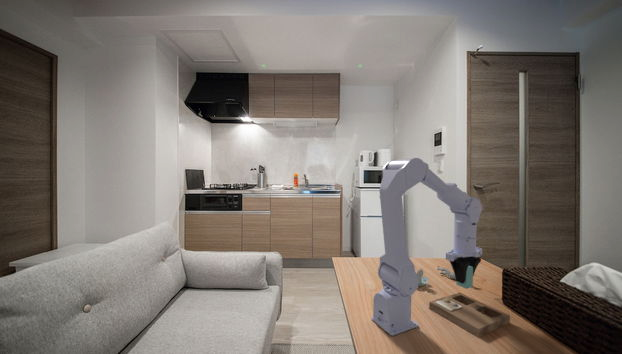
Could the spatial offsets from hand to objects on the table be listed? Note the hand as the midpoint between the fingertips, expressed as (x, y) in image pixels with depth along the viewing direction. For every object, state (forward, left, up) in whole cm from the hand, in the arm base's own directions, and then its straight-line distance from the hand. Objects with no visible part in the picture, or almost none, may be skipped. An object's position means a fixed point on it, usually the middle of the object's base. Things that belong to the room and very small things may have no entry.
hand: (463, 280), depth 74 cm
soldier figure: (+16, +14, -8) cm, 23 cm away
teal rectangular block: (0, 0, -1) cm, 1 cm away
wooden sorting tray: (-4, -3, -8) cm, 9 cm away
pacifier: (-1, +17, -8) cm, 19 cm away
